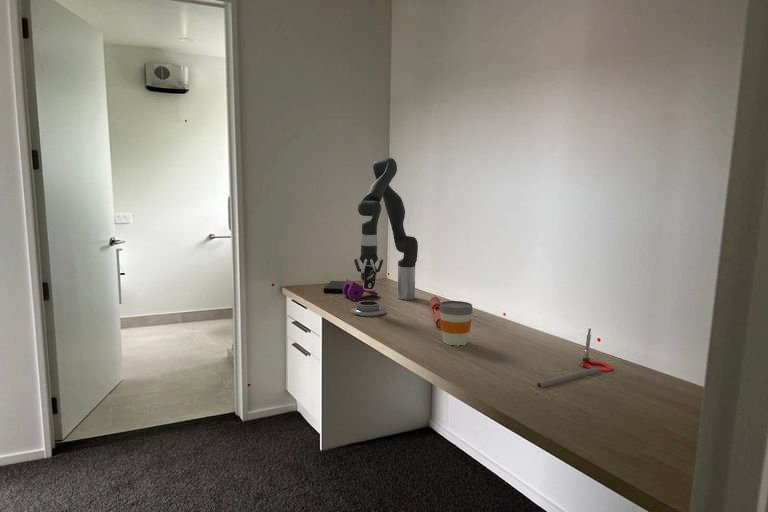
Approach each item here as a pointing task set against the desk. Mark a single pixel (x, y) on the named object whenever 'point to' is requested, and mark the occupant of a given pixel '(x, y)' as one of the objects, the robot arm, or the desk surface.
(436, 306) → the blood vessel
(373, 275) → the beverage can
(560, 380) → the metal rod
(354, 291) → the mounting bracket
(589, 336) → the tow hook
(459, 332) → the reusable coffee cup
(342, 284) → the external hard drive
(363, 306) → the rosette socket
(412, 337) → the desk surface
